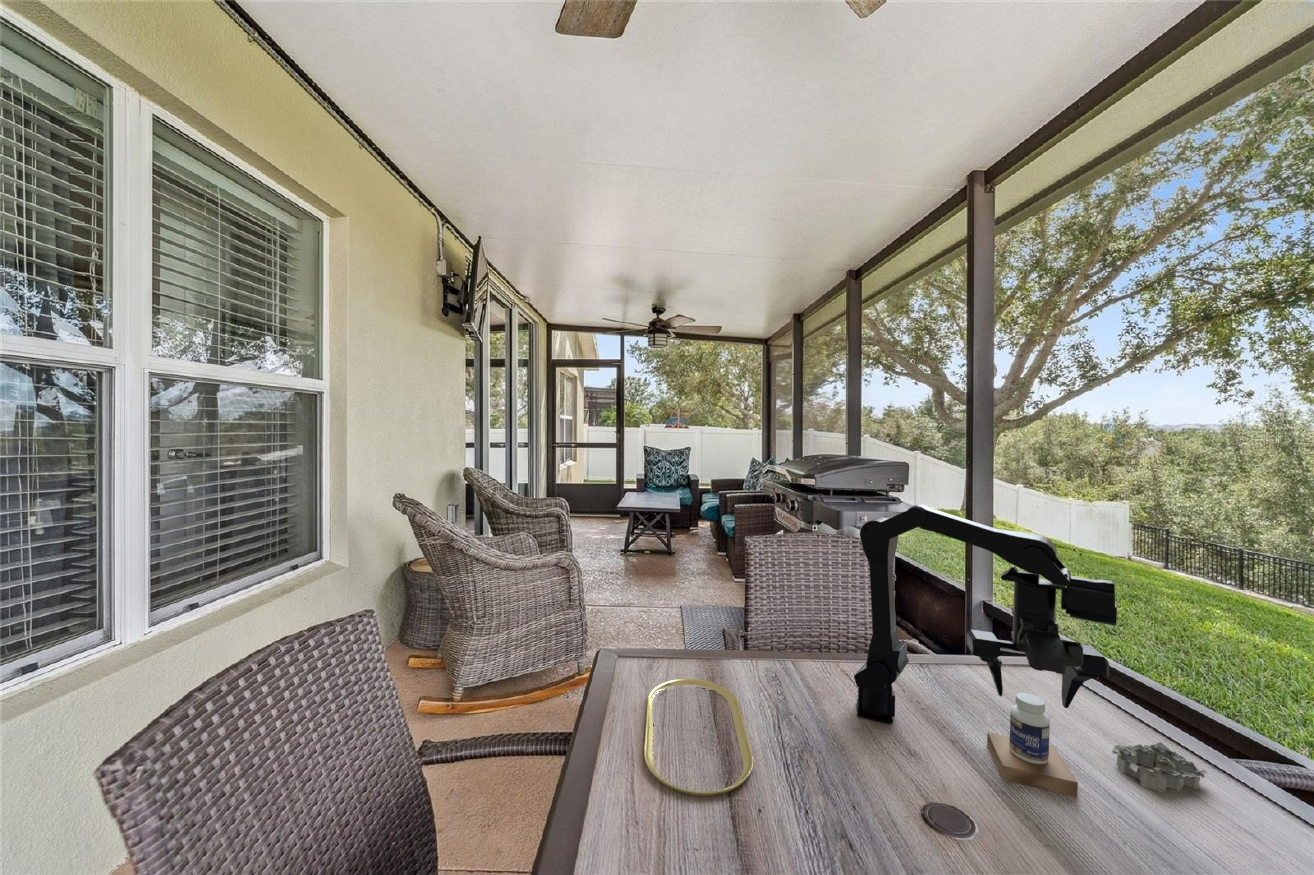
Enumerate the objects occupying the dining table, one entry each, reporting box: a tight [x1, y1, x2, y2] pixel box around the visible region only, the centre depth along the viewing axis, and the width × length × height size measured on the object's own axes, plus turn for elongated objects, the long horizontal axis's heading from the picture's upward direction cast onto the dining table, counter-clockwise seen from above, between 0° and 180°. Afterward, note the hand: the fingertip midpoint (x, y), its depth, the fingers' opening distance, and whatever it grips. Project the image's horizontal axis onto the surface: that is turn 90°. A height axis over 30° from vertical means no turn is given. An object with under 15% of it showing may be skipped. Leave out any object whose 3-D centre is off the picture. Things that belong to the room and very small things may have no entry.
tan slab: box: [986, 731, 1079, 798], centre depth 85 cm, size 10×10×2 cm
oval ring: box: [643, 678, 754, 797], centre depth 94 cm, size 19×35×2 cm, turn 179°
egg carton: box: [1111, 742, 1208, 793], centre depth 84 cm, size 11×8×4 cm
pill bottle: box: [1009, 692, 1051, 764], centre depth 85 cm, size 5×5×10 cm
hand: (1031, 701), depth 85 cm, fingers open, 9 cm apart
